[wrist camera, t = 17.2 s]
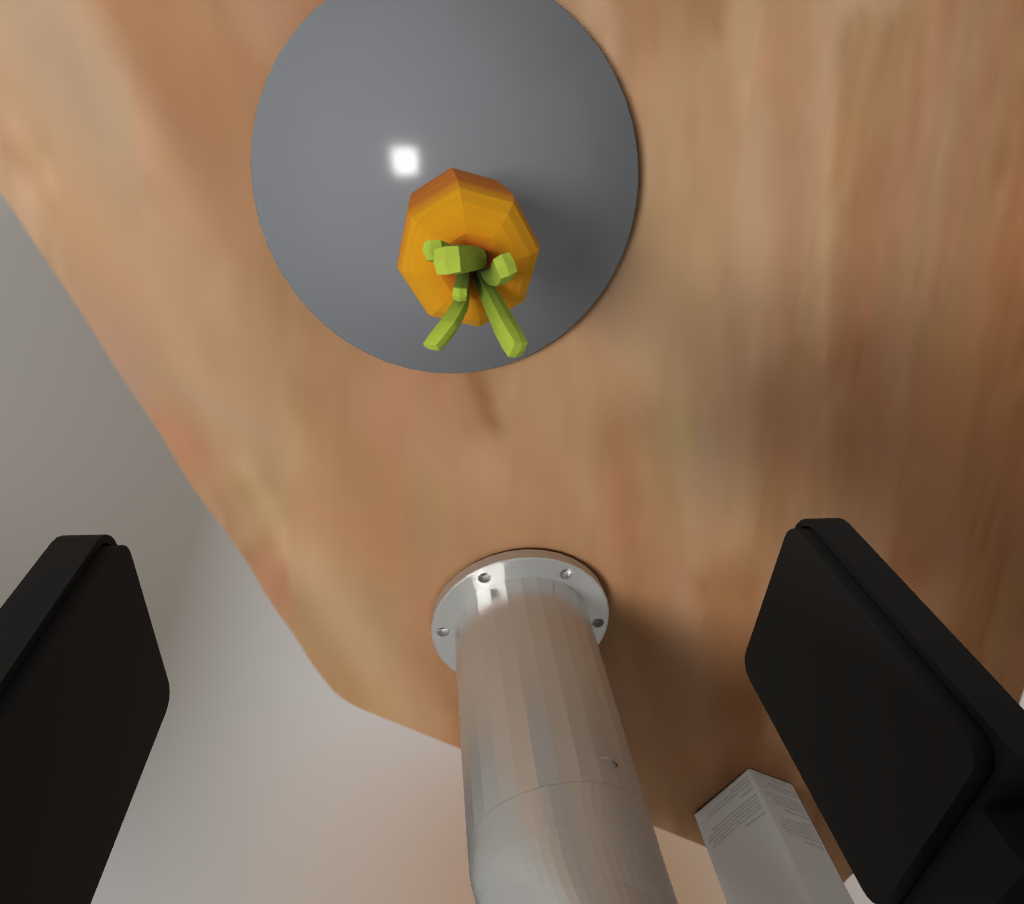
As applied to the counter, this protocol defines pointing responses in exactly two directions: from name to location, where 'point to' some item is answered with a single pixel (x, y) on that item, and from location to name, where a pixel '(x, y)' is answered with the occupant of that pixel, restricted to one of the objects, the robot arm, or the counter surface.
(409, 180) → the plate
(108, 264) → the counter surface
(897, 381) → the counter surface
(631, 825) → the robot arm
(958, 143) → the counter surface
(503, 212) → the carrot
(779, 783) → the skincare box
